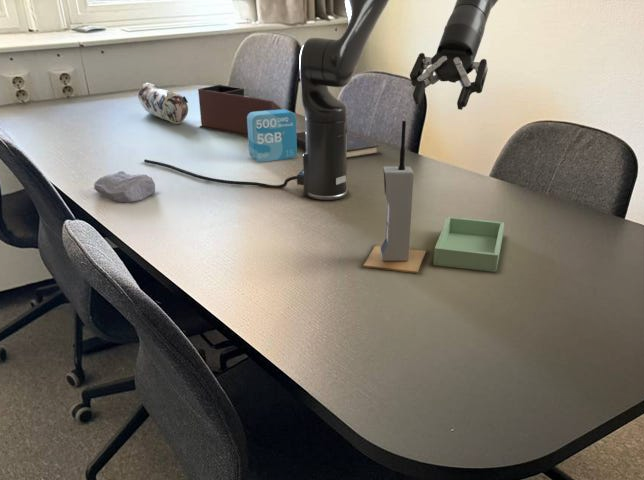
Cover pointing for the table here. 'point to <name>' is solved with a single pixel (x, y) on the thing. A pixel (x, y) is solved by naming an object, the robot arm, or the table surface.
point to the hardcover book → (354, 146)
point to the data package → (272, 135)
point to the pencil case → (163, 103)
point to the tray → (469, 244)
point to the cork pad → (402, 266)
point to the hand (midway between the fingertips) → (437, 104)
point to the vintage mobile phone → (398, 208)
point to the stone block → (125, 186)
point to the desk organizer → (229, 108)
